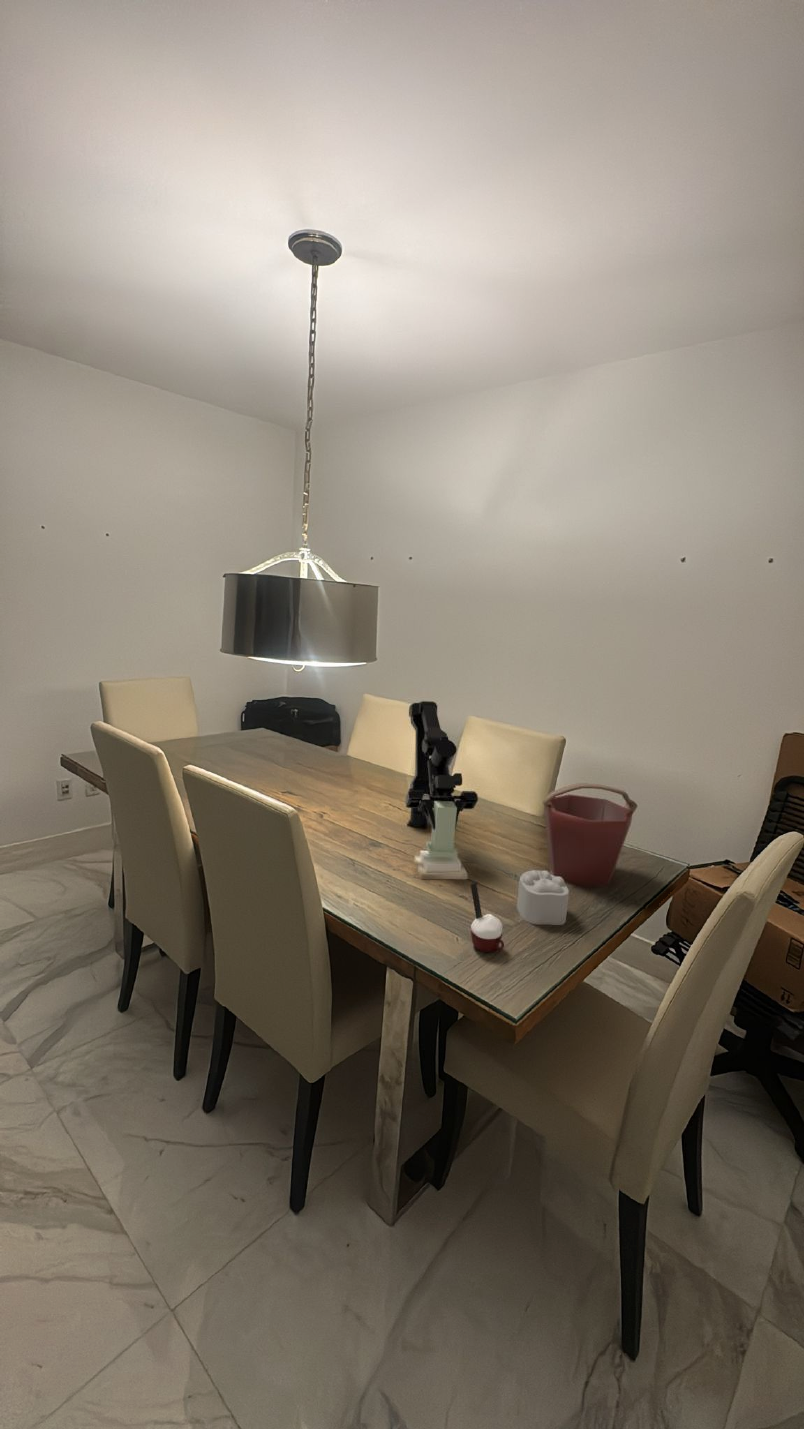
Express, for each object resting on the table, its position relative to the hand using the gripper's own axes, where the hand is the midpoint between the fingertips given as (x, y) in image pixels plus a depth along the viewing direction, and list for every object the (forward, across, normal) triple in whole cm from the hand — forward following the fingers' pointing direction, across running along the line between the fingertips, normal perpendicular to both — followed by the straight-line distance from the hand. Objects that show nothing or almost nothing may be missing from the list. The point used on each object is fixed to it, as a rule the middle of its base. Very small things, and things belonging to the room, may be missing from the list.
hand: (444, 829), depth 157 cm
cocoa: (+34, +2, -17) cm, 38 cm away
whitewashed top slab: (+6, 0, +8) cm, 10 cm away
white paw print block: (+23, +19, -7) cm, 31 cm away
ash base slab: (+8, 0, +10) cm, 12 cm away
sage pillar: (+4, 0, +6) cm, 7 cm away
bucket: (+10, +38, +7) cm, 40 cm away
